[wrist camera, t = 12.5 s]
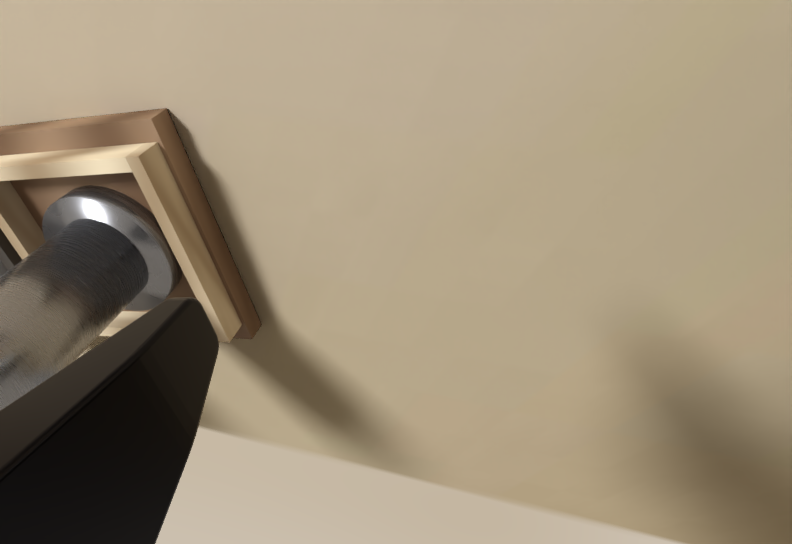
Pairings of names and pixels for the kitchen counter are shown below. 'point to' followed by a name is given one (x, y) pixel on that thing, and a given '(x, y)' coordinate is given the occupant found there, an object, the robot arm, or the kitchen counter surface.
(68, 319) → the grey cylindrical piece
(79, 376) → the robot arm
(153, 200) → the pin board
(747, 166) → the kitchen counter surface
